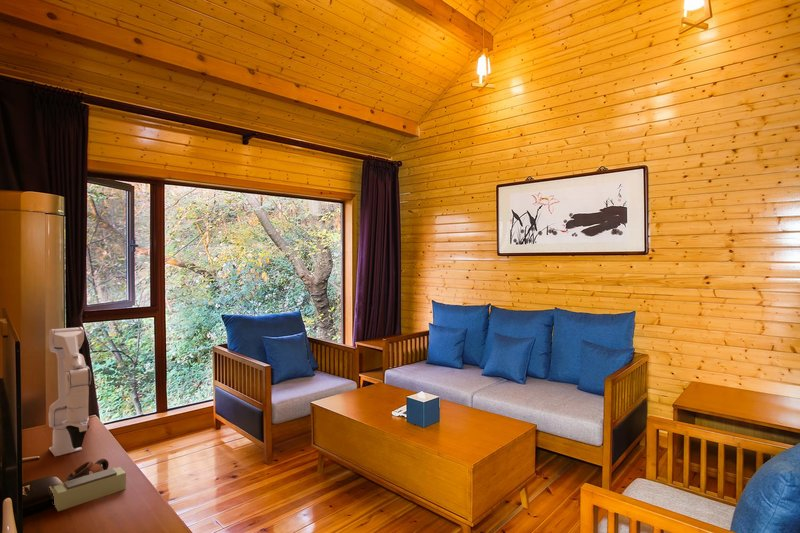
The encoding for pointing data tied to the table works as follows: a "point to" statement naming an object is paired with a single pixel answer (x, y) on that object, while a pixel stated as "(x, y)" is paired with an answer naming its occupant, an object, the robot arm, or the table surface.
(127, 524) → the table surface
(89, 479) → the deck bay
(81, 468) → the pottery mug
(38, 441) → the table surface
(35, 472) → the table surface
